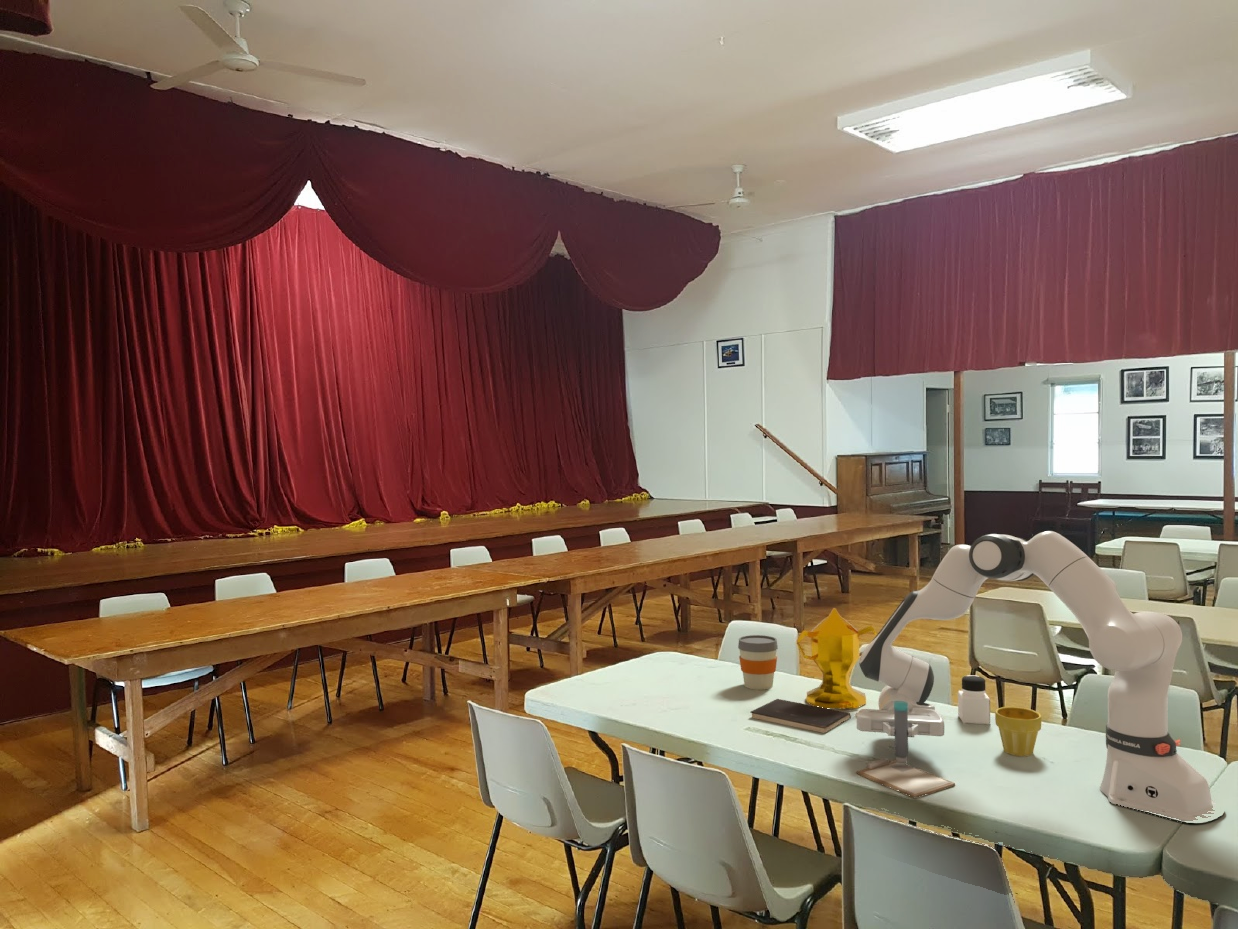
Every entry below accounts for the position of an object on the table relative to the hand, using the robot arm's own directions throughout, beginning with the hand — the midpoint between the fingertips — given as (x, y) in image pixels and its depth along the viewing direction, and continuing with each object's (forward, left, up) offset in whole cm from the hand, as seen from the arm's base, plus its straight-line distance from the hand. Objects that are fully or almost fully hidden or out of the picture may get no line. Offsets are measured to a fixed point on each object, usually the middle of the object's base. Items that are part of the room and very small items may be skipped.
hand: (901, 733), depth 202 cm
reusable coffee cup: (+75, -19, -9) cm, 78 cm away
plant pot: (-7, -34, -9) cm, 36 cm away
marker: (+1, -1, -7) cm, 7 cm away
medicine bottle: (+15, -46, -9) cm, 49 cm away
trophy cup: (+48, -27, -9) cm, 56 cm away
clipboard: (-4, +3, -9) cm, 10 cm away
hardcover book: (+43, -7, -10) cm, 45 cm away
